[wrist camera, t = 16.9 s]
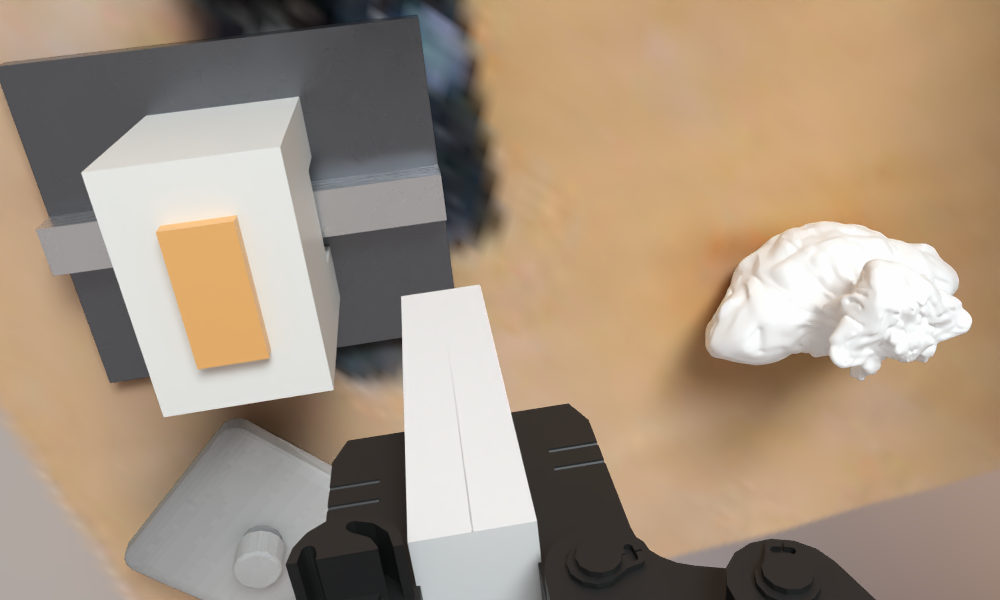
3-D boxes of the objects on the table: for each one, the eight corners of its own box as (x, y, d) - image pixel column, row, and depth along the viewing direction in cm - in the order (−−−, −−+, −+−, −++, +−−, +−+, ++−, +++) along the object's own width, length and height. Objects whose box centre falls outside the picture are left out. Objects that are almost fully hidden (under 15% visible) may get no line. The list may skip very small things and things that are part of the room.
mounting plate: (416, 14, 32) (420, 21, 30) (457, 319, 38) (463, 343, 36) (5, 62, 31) (-23, 73, 28) (116, 371, 37) (100, 400, 35)
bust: (878, 219, 42) (1006, 134, 31) (932, 355, 41) (1087, 318, 30) (662, 280, 42) (714, 216, 31) (709, 420, 40) (781, 407, 29)
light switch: (237, 390, 38) (220, 452, 34) (401, 480, 42) (405, 547, 38) (131, 525, 41) (101, 600, 36) (295, 599, 44) (287, 676, 40)
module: (299, 96, 32) (278, 151, 24) (340, 296, 36) (333, 398, 28) (146, 115, 31) (74, 178, 24) (204, 317, 35) (159, 427, 28)
